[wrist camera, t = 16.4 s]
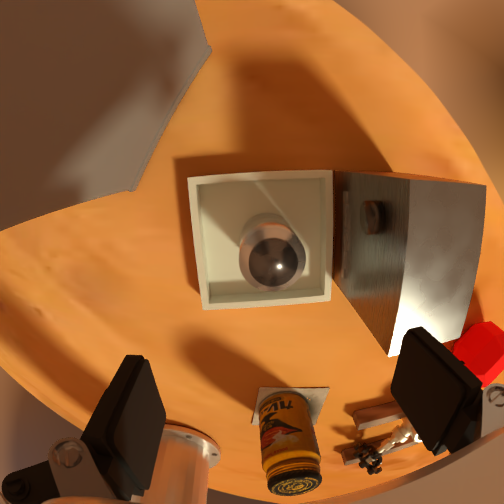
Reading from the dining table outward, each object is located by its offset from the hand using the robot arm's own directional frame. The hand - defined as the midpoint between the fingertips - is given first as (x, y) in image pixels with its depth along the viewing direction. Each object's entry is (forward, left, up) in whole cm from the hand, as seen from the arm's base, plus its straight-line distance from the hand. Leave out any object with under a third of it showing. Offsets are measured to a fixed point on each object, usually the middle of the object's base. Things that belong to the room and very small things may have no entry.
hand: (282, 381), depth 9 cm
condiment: (+3, -21, -17) cm, 27 cm away
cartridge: (+1, +1, -16) cm, 16 cm away
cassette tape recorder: (-9, +13, -17) cm, 23 cm away
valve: (+19, -29, -16) cm, 38 cm away
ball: (+29, -16, -17) cm, 37 cm away
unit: (+10, +1, -16) cm, 19 cm away
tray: (0, +1, -16) cm, 16 cm away
